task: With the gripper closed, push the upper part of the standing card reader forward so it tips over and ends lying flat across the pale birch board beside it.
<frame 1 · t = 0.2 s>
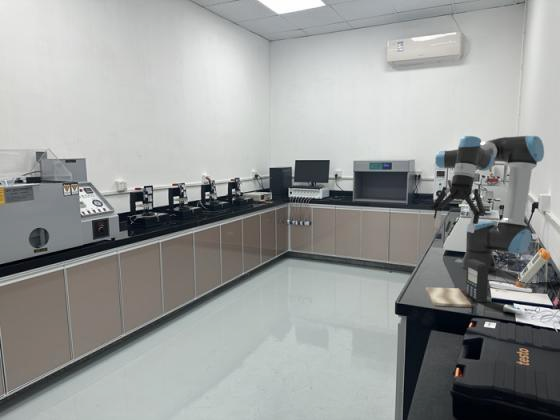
hand: (453, 229, 149), 27 cm above the countertop, fingers open, 13 cm apart
card reader: (475, 299, 151), on the countertop
birch board: (447, 297, 153), on the countertop
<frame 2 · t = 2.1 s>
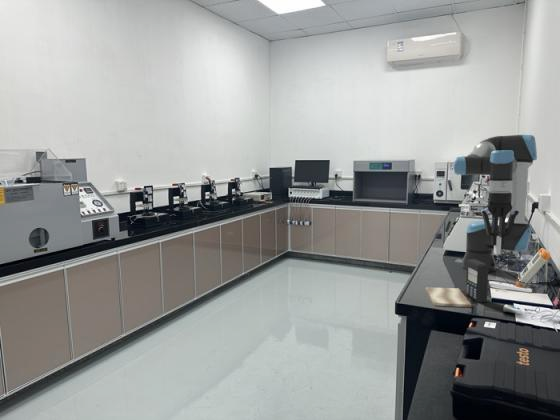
hand: (497, 253, 147), 18 cm above the countertop, fingers closed
nothing on the countertop moved.
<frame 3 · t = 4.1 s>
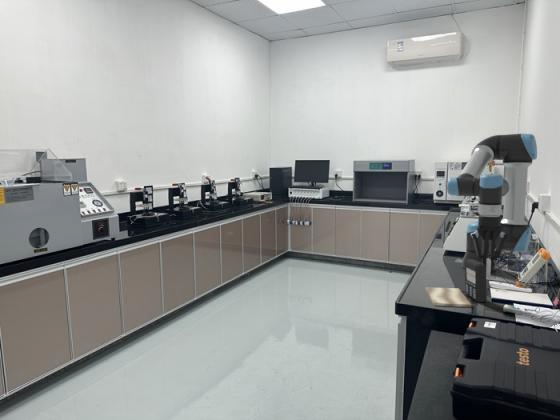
hand: (486, 275, 149), 9 cm above the countertop, fingers closed
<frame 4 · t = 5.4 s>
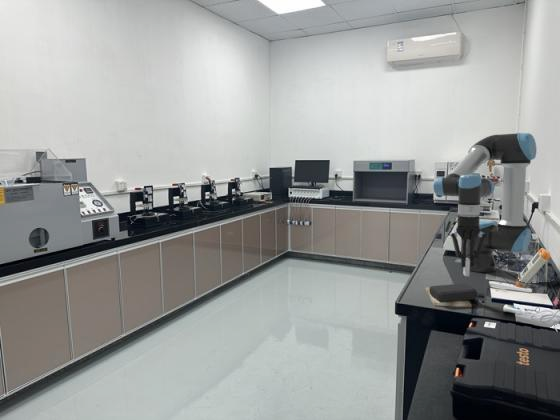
hand: (466, 275, 150), 9 cm above the countertop, fingers closed
card reader: (471, 291, 151), point 3 cm above the countertop, touching birch board
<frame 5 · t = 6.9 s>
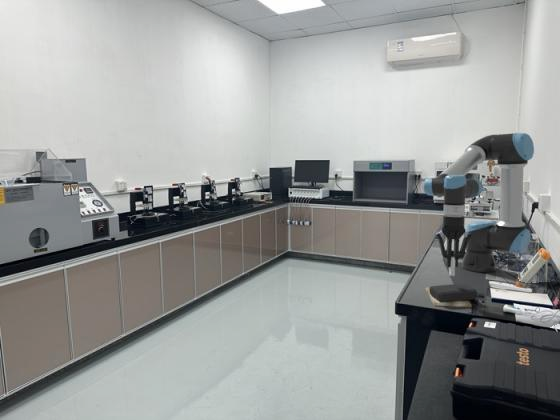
hand: (451, 274, 151), 9 cm above the countertop, fingers closed
nothing on the countertop moved.
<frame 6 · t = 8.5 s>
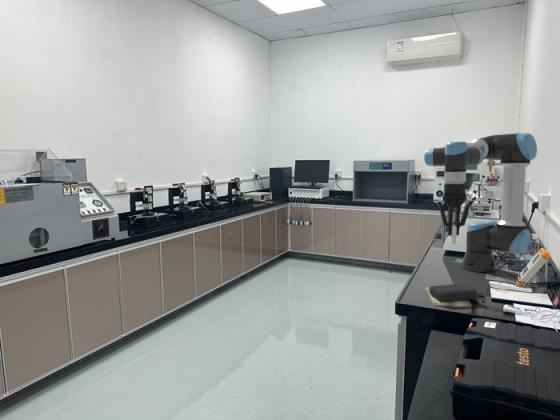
hand: (453, 243, 150), 22 cm above the countertop, fingers closed
nothing on the countertop moved.
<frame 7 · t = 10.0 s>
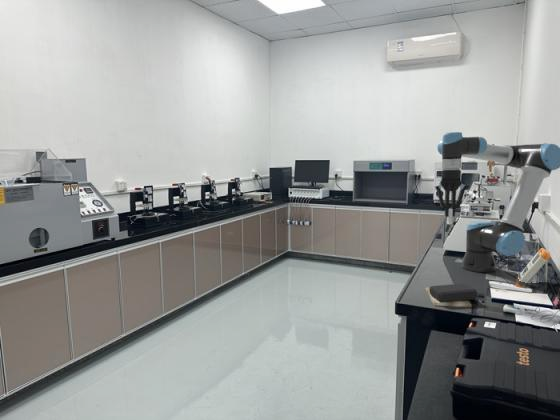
hand: (449, 224, 167), 26 cm above the countertop, fingers closed
nothing on the countertop moved.
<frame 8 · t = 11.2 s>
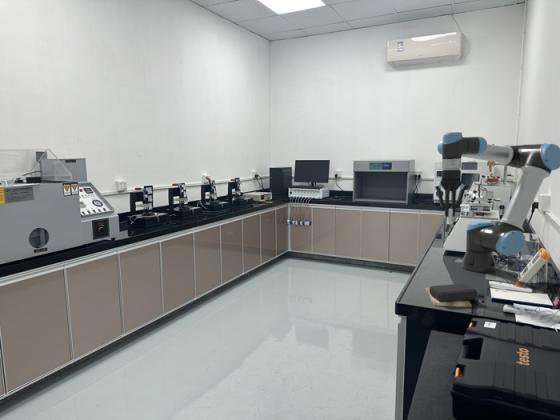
hand: (449, 223, 167), 26 cm above the countertop, fingers closed
nothing on the countertop moved.
at the end: card reader tilted 92°; card reader touching birch board; the gripper is holding nothing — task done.
